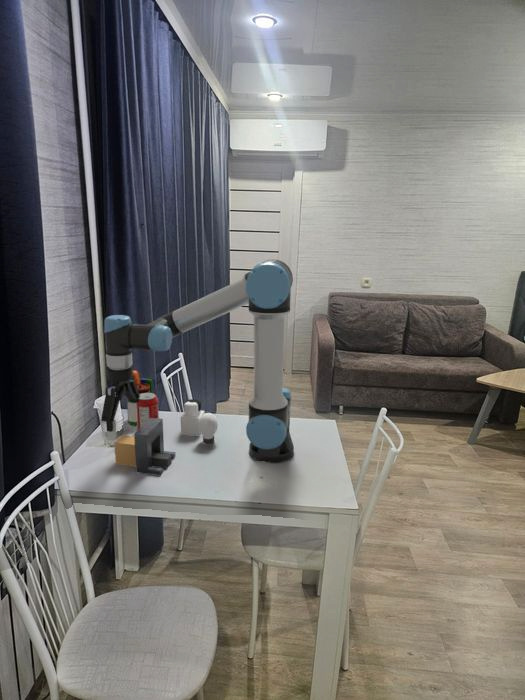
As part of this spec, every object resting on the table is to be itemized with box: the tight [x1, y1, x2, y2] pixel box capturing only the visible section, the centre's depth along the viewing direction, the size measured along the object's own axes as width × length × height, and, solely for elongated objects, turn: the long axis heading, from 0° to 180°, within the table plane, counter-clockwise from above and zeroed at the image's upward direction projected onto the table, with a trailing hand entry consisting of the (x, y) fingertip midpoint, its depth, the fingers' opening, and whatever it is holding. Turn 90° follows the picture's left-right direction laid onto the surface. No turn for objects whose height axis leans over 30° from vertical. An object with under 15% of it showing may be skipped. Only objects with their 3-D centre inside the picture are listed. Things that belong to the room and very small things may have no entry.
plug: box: [113, 434, 172, 469], centre depth 141 cm, size 17×6×8 cm, turn 80°
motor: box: [126, 369, 154, 427], centre depth 169 cm, size 10×9×20 cm
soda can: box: [136, 393, 160, 432], centre depth 159 cm, size 8×8×15 cm
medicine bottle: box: [180, 398, 206, 437], centre depth 162 cm, size 7×7×12 cm
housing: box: [133, 418, 177, 476], centre depth 139 cm, size 8×12×13 cm, turn 169°
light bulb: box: [198, 412, 219, 445], centre depth 155 cm, size 7×7×11 cm
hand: (123, 430), depth 140 cm, fingers open, 13 cm apart
